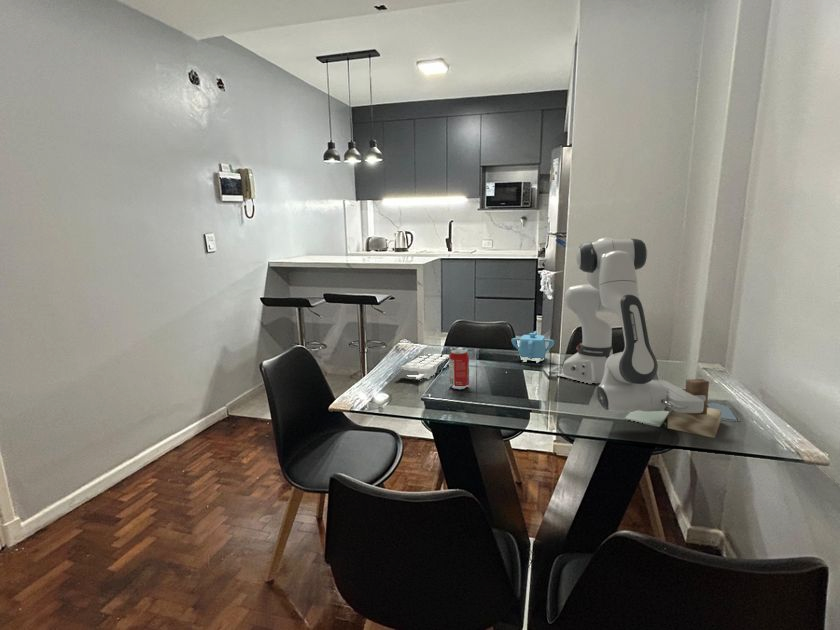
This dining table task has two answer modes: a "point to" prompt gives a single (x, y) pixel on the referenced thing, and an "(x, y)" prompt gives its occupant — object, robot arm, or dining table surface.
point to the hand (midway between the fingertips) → (699, 395)
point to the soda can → (459, 368)
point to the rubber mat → (648, 417)
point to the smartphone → (724, 412)
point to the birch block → (696, 422)
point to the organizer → (424, 364)
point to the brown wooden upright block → (698, 391)
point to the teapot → (532, 345)
